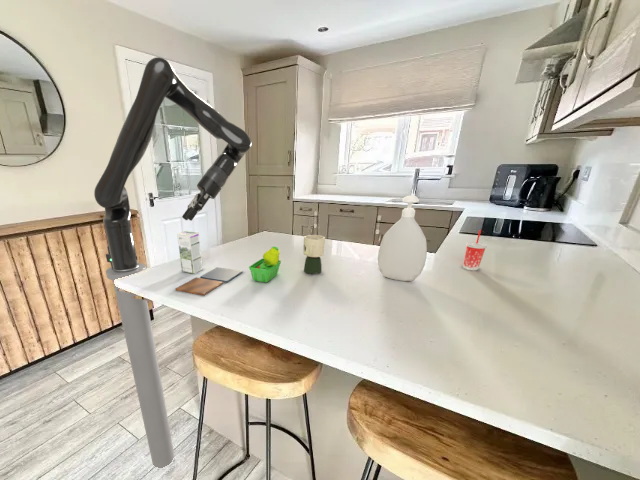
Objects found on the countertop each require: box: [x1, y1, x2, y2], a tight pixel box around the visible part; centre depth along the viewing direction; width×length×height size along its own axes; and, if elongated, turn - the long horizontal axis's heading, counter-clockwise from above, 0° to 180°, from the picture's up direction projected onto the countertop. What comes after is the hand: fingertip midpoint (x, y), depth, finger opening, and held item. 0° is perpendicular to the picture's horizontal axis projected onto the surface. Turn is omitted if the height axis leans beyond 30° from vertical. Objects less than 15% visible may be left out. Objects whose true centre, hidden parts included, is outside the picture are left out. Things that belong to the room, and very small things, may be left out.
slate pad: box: [199, 267, 243, 284], centre depth 110 cm, size 11×11×1 cm
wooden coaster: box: [175, 276, 224, 296], centre depth 100 cm, size 11×11×1 cm
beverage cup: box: [462, 229, 488, 271], centre depth 108 cm, size 6×6×14 cm
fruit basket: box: [248, 246, 282, 283], centre depth 105 cm, size 11×9×11 cm
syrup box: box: [176, 230, 203, 275], centre depth 113 cm, size 6×6×14 cm
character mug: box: [303, 234, 326, 275], centre depth 108 cm, size 11×7×13 cm, turn 159°
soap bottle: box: [377, 194, 428, 282], centre depth 99 cm, size 14×8×27 cm, turn 53°
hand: (186, 219), depth 108 cm, fingers open, 8 cm apart
